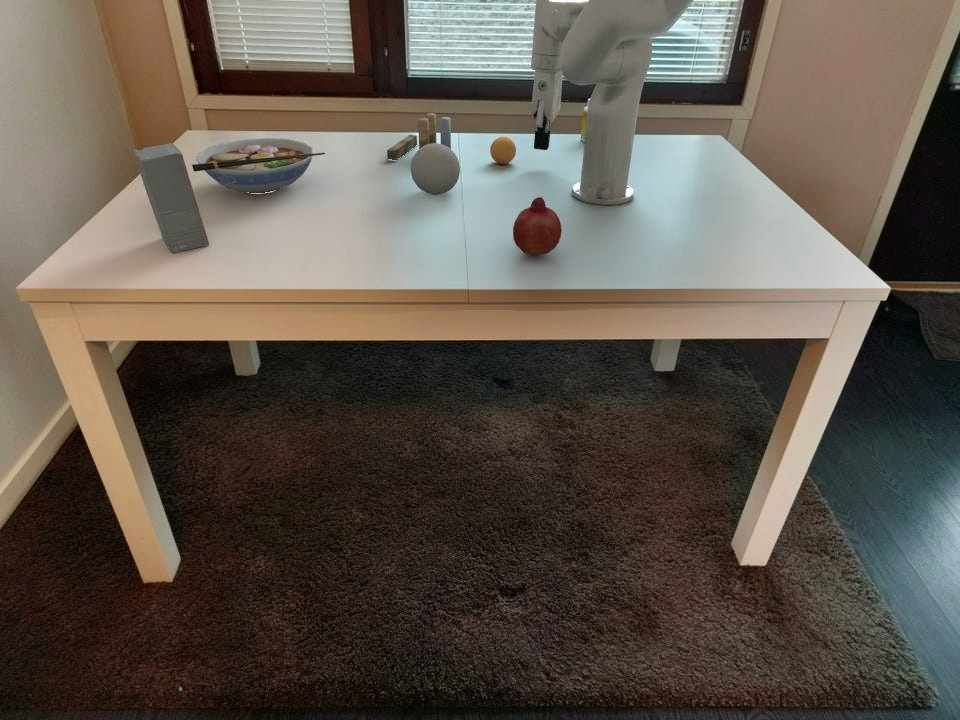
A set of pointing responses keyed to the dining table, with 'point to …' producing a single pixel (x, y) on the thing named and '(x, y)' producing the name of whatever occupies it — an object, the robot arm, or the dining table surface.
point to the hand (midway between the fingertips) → (541, 148)
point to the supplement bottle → (584, 122)
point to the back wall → (402, 147)
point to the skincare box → (171, 196)
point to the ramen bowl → (256, 163)
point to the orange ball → (503, 150)
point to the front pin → (445, 131)
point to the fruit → (537, 229)
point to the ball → (435, 169)
